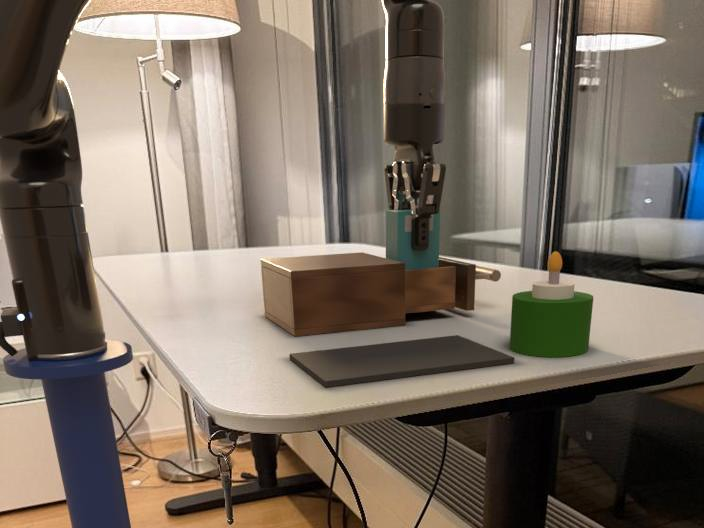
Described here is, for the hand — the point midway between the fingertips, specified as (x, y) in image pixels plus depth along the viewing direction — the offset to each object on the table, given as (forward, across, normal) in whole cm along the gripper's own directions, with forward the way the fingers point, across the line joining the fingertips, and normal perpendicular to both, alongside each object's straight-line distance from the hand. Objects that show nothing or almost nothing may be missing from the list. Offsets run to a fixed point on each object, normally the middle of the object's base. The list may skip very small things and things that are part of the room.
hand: (412, 247), depth 96 cm
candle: (+9, +26, +4) cm, 28 cm away
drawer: (+8, 0, +2) cm, 8 cm away
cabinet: (+9, 0, -12) cm, 14 cm away
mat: (+9, +24, -13) cm, 29 cm away
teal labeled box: (+4, 0, 0) cm, 4 cm away
